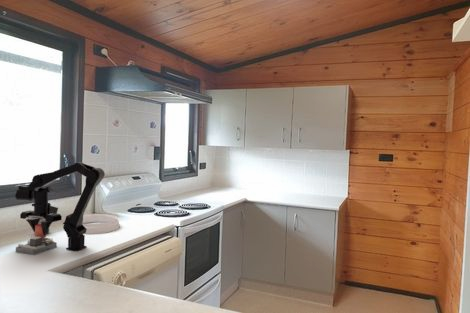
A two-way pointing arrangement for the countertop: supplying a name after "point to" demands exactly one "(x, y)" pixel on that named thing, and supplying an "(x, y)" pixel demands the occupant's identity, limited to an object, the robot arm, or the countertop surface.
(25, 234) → the countertop surface
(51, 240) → the breaker panel
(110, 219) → the pale pink ring
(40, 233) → the cap
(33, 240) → the block
